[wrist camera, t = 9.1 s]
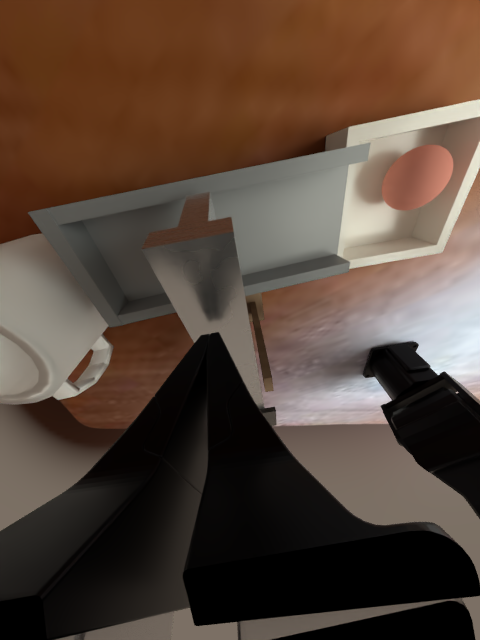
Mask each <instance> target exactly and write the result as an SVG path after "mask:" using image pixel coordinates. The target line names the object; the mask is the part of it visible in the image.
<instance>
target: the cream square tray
mask: <svg viewBox="0 0 480 640" xmlns="http://www.w3.org/2000/svg"><path fill="white" fill-rule="evenodd" d="M370 142H371V143H370ZM366 143H370V149H369V155H368V161H365V162H360V163H355V164H350V165H349V167H348V175H347V183H346V191H345V198H344V206H343V214H342V222H341V230H340V237H339V245H338V253H337V255H338V256H340V257H342V258H343V259H345V260H347V261H349V262H350V266H349V269H351V268H357V267H362V266H368V265H374V264H380V263H386V262H391V261H397V260H403V259H409V258H414V257H420V256H426V255H432V254H438V253H442V252H443V250H444V247H445V245H446V243H447V241H448V238H449V236H450V234H451V232H452V229H453V227H454V225H455V222H456V220H457V218H458V216H459V213H460V211H461V209H462V207H463V204H464V202H465V200H466V197H467V195H468V193H469V191H470V188H471V186H472V184H473V182H474V179H475V177H476V175H477V173H478V170H479V168H480V99H479V100H474V101H470V102H465V103H460V104H455V105H451V106H446V107H441V108H436V109H432V110H427V111H422V112H418V113H413V114H408V115H403V116H399V117H394V118H389V119H384V120H380V121H375V122H370V123H365V124H361V125H356V126H351V127H347V128H345V129H342V130H340V131H337V132H335V133H332V134H330V135H327V136H326V144H325V152H326V151H331V150H336V149H341V148H346V147H351V146H356V145H361V144H366ZM423 145H439V146H442V147H444V148H445V149H447V150H448V151H449V152H450V154H451V156H452V158H453V172H452V175H451V178H450V180H449V182H448V184H447V185H446V187H445V188H444V189H443V190H442V192H441V193H440V194H439V195H438V196H437V197H435V198H434V199H433V200H432V201H430V202H429V203H427V204H425V205H423V206H421V207H419V208H416V209H412V210H396V209H393V208H391V207H390V206H388V205H387V204H386V203H385V201H384V199H383V197H382V183H383V180H384V177H385V175H386V173H387V171H388V170H389V168H390V167H391V166H392V165H393V163H394V162H395V161H396V160H397V159H398V158H400V157H401V156H402V155H403V154H405V153H406V152H408V151H410V150H412V149H414V148H416V147H419V146H423Z"/></svg>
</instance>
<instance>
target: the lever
mask: <svg viewBox="0 0 480 640" xmlns="http://www.w3.org/2000/svg"><path fill="white" fill-rule="evenodd" d="M141 250H142V251H143V253H144V255H145V257H146V259H147V260H148V262H149V264H150V266H151V267H152V269H153V271H154V273H155V274H156V276H157V278H158V280H159V282H160V283H161V285H162V287H163V289H164V290H165V292H166V294H167V296H168V298H169V299H170V301H171V303H172V305H173V306H174V308H175V310H176V312H177V314H178V315H179V317H180V319H181V321H182V322H183V324H184V326H185V328H186V329H187V331H188V333H189V335H190V337H191V338H192V340H193V342H194V343H195V342H196V341H197V339H198V338H199V337H200V336H201V335H204V334H211V333H215V332H219V333H220V335H221V337H222V339H223V341H224V343H225V345H226V347H227V349H228V351H229V353H230V355H231V357H232V359H233V361H234V363H235V365H236V367H237V369H238V371H239V373H240V375H241V377H242V379H243V381H244V383H245V385H246V387H247V389H248V391H249V393H250V394H251V396H252V398H253V400H254V401H255V403H256V404H257V406H258V407H259V409H260V411H261V412H262V413H263V415H264V416H265V418H266V419H267V421H268V422H269V423H270V425H271V426H274V425H276V410H275V407H271V408H264V402H263V396H262V391H261V385H260V379H259V373H258V368H257V362H256V356H255V350H254V344H253V339H252V333H251V327H250V321H249V315H248V310H247V304H246V298H245V292H244V287H243V281H242V275H241V269H240V263H239V258H238V252H237V246H236V240H235V234H234V229H233V223H232V217H227V218H222V219H217V220H216V216H215V212H214V207H213V203H212V199H211V194H210V191H209V192H204V193H199V194H194V195H189V196H187V197H186V200H185V204H184V207H183V210H182V214H181V217H180V221H179V224H178V227H175V228H170V229H165V230H160V231H155V232H149V235H148V237H147V239H146V241H145V243H144V245H143V247H142V249H141Z"/></svg>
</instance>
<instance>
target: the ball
mask: <svg viewBox="0 0 480 640" xmlns="http://www.w3.org/2000/svg"><path fill="white" fill-rule="evenodd" d="M452 172H453V158H452V156H451V154H450V152H449V151H448V150H447V149H445V148H444V147H442V146H439V145H423V146H419V147H416V148H414V149H412V150H410V151H408V152H406V153H405V154H403V155H402V156H401V157H400V158H398V159H397V160H396V161H395V162H394V163H393V165H392V166H391V167H390V168H389V170H388V171H387V173H386V175H385V177H384V180H383V183H382V197H383V199H384V201H385V203H386V204H387V205H388V206H390V207H391V208H393V209H396V210H412V209H416V208H419V207H421V206H423V205H425V204H427V203H429V202H430V201H432V200H433V199H434V198H435V197H437V196H438V195H439V194H440V193H441V192H442V190H443V189H444V188H445V187H446V185H447V184H448V182H449V180H450V178H451V175H452Z"/></svg>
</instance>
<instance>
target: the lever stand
mask: <svg viewBox="0 0 480 640" xmlns="http://www.w3.org/2000/svg"><path fill="white" fill-rule="evenodd" d="M245 298H246V304H247V310H248V315H249V321H250V322H253V324H254V330H255V335H256V341H257V347H258V352H259V358H260V364H261V369H262V375H263V381H264V386H265V392H268V391H273V383H272V376H271V371H270V366H269V362H268V357H267V353H266V348H265V344H264V339H263V335H262V330H261V326H260V320H264V313H263V304H262V295H261V293H257V294H253V295H248V296H245Z"/></svg>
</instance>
